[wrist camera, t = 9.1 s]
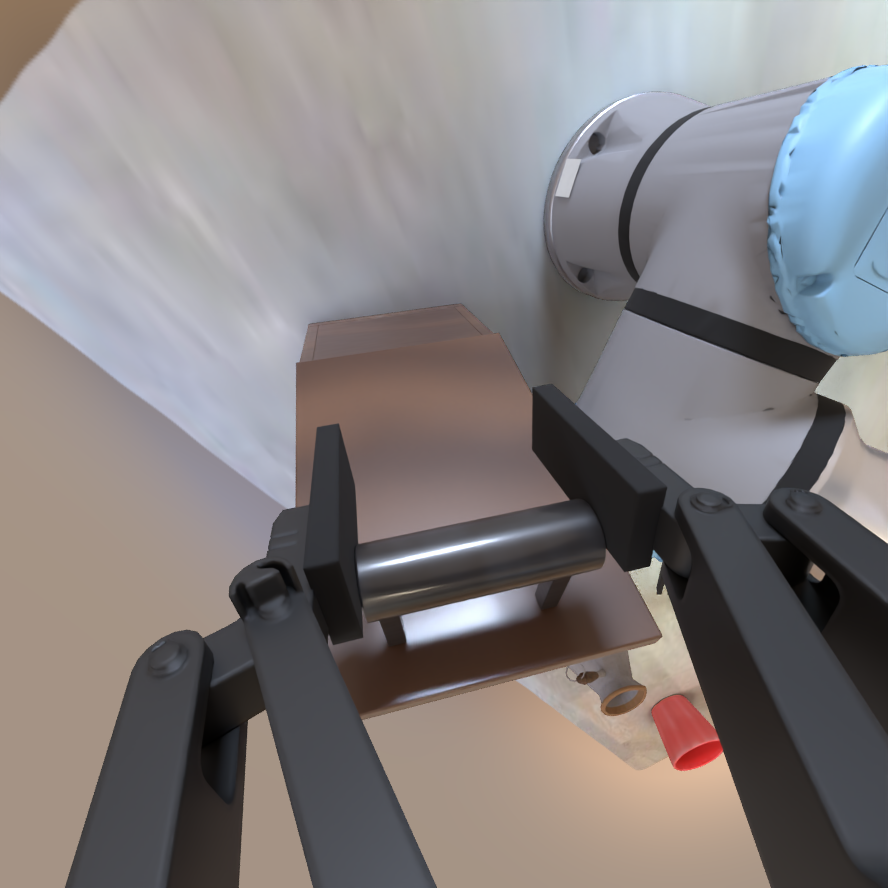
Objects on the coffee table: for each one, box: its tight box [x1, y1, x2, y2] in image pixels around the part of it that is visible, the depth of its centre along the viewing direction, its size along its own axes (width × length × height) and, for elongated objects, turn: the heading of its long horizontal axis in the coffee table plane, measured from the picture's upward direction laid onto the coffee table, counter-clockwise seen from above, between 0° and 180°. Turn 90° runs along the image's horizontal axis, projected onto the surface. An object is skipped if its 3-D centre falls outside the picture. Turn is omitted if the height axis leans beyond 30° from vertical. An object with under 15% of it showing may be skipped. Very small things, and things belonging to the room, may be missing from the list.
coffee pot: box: [566, 650, 647, 716], centre depth 58 cm, size 21×12×15 cm, turn 39°
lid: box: [296, 333, 662, 720], centre depth 20 cm, size 20×14×7 cm
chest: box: [300, 303, 494, 362], centre depth 38 cm, size 19×14×10 cm
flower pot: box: [652, 695, 723, 771], centre depth 85 cm, size 11×11×10 cm
